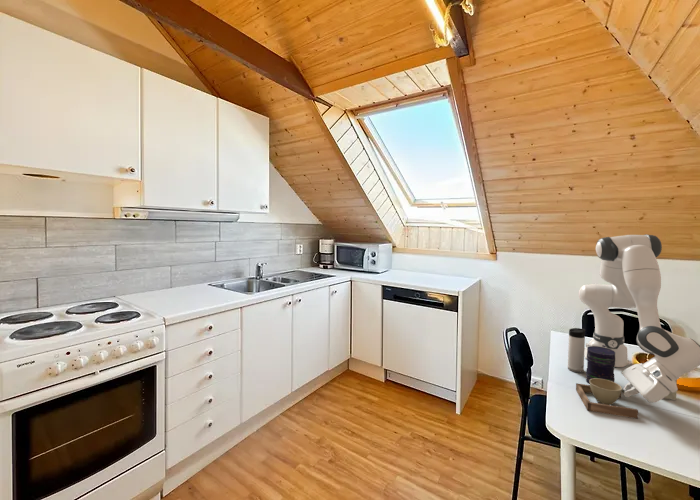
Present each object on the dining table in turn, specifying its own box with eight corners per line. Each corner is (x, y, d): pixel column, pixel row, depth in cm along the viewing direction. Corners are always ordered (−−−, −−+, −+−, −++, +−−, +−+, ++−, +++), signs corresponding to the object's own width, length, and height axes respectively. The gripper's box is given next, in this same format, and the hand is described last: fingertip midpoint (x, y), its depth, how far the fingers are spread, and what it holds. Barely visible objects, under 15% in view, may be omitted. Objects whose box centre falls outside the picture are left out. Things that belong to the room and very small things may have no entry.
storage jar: (582, 376, 148) (584, 338, 147) (608, 379, 145) (610, 340, 144) (590, 387, 139) (592, 346, 138) (618, 390, 136) (620, 348, 134)
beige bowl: (616, 411, 121) (617, 393, 120) (584, 400, 129) (585, 383, 128) (624, 402, 127) (625, 384, 126) (593, 392, 135) (594, 375, 134)
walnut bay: (575, 390, 137) (576, 383, 137) (620, 396, 131) (620, 389, 131) (587, 410, 122) (587, 402, 122) (637, 418, 117) (638, 410, 116)
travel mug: (587, 373, 152) (588, 331, 150) (571, 372, 153) (572, 330, 151) (580, 367, 158) (582, 327, 156) (565, 366, 159) (566, 326, 158)
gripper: (637, 355, 130) (606, 375, 134) (664, 378, 111) (627, 400, 115) (651, 367, 129) (619, 387, 133) (680, 393, 110) (642, 415, 114)
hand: (623, 394), depth 124 cm, fingers closed
